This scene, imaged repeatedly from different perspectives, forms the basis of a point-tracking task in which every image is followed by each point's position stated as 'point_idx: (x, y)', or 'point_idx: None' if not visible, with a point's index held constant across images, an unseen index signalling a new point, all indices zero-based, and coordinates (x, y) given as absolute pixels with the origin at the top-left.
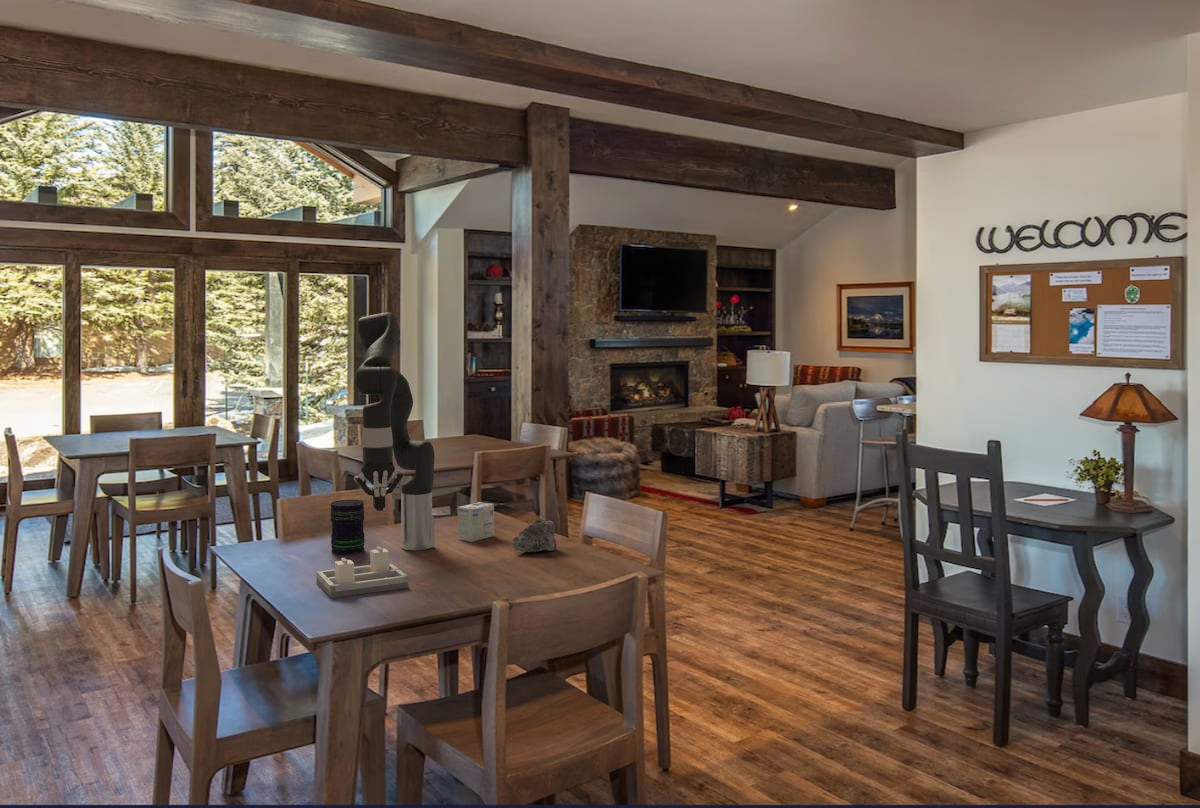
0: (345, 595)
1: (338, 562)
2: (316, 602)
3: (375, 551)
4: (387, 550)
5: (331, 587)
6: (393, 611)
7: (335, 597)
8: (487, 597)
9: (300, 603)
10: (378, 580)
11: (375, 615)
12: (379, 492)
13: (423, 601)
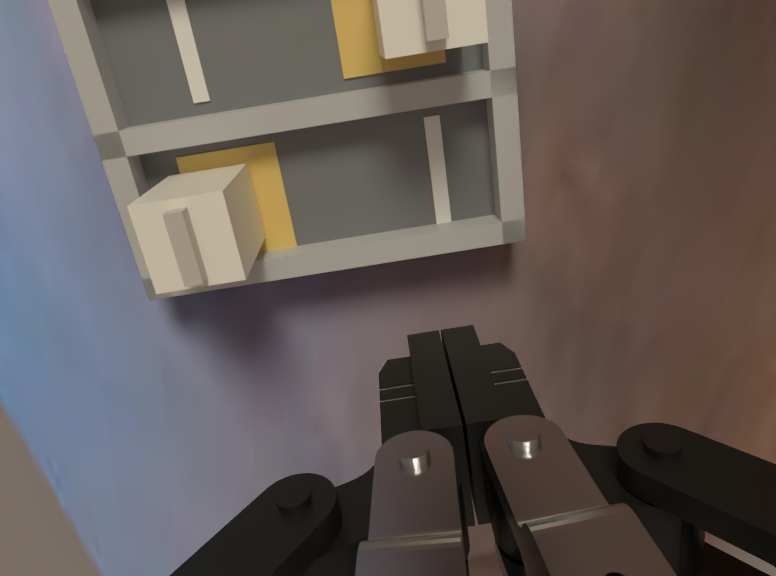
0: None
1: (153, 237)
2: (109, 318)
3: (400, 9)
4: (484, 7)
5: (154, 298)
6: None
7: None
8: (744, 436)
9: (41, 312)
10: (376, 262)
11: None
12: (494, 496)
13: None
